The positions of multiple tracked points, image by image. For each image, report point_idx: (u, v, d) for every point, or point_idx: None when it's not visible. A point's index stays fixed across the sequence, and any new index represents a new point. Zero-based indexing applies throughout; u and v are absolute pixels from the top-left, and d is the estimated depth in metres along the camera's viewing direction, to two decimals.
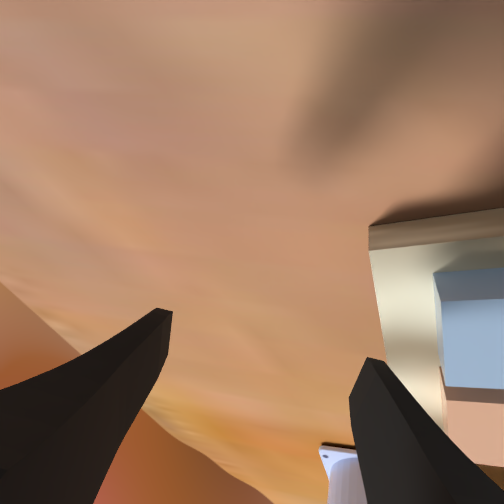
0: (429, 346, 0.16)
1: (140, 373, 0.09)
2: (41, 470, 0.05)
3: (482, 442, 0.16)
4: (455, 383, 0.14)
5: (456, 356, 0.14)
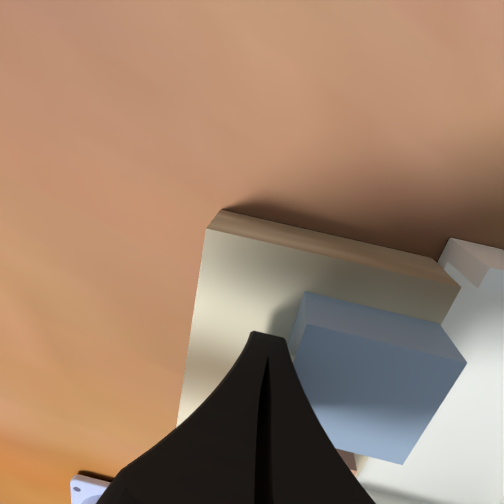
0: None
1: None
2: None
3: None
4: None
5: None
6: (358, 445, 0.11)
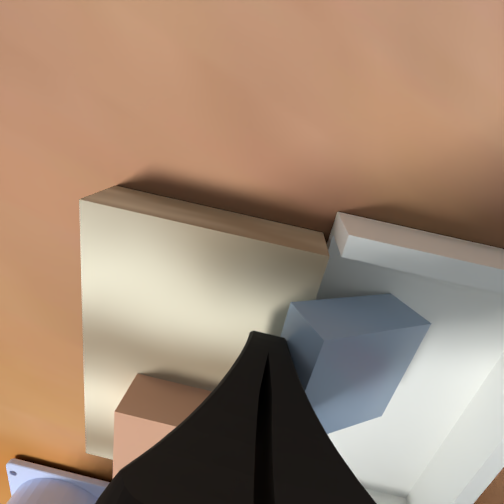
0: (131, 345, 0.14)
1: None
2: None
3: None
4: None
5: None
6: (353, 418, 0.13)
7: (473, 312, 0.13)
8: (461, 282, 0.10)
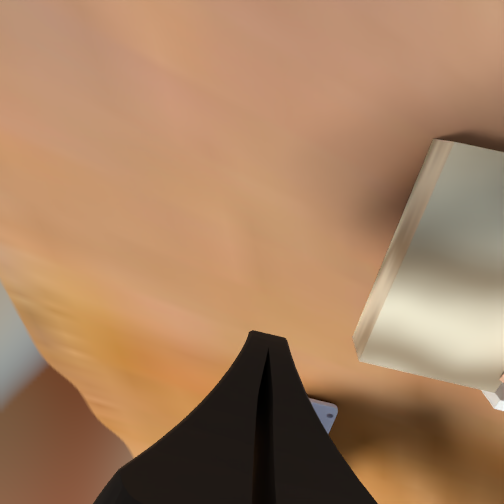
0: (444, 261, 0.18)
1: None
2: None
3: None
4: None
5: None
6: None
7: None
8: None
